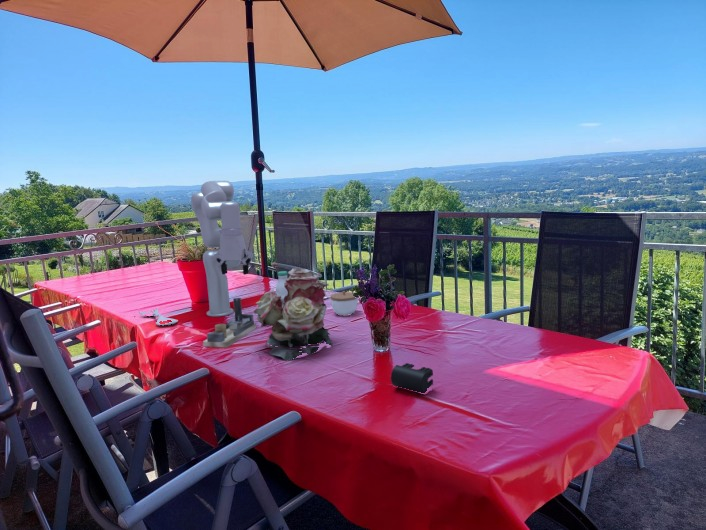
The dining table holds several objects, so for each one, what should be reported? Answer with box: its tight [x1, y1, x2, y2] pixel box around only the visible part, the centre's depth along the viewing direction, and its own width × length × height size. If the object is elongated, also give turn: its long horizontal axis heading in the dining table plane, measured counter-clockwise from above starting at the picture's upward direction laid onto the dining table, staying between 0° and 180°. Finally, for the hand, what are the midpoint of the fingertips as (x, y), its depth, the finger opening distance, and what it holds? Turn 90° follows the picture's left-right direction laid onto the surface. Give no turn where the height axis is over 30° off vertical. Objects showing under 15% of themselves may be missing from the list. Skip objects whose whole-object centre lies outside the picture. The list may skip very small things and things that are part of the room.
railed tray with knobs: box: [202, 313, 257, 348], centre depth 184 cm, size 10×25×6 cm, turn 166°
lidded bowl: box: [330, 290, 359, 315], centre depth 210 cm, size 13×13×11 cm
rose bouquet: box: [253, 266, 333, 362], centre depth 165 cm, size 26×29×30 cm
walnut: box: [214, 323, 227, 338], centre depth 177 cm, size 4×4×5 cm
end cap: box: [390, 362, 434, 393], centre depth 128 cm, size 10×7×7 cm
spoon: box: [138, 307, 179, 327], centre depth 214 cm, size 9×32×4 cm, turn 42°
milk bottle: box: [275, 270, 289, 296], centre depth 217 cm, size 8×8×20 cm
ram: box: [227, 297, 250, 330], centre depth 189 cm, size 7×8×12 cm
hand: (235, 273), depth 188 cm, fingers open, 9 cm apart
